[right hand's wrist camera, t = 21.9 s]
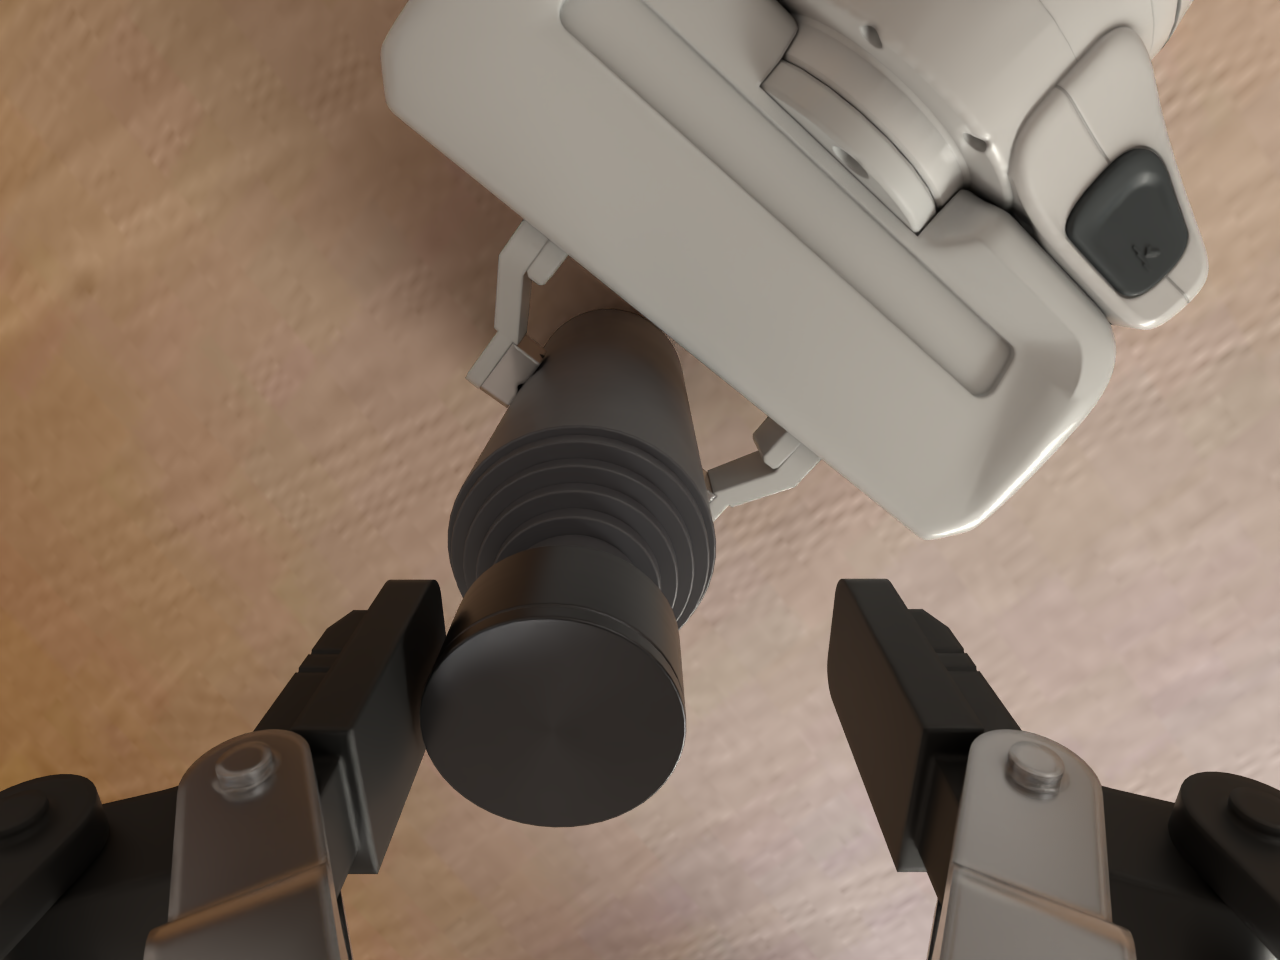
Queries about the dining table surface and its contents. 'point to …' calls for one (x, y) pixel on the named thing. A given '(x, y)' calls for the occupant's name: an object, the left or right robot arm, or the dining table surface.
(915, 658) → the right robot arm
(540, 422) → the bottle
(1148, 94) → the left robot arm
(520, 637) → the cap
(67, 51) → the dining table surface
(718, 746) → the dining table surface
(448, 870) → the dining table surface
